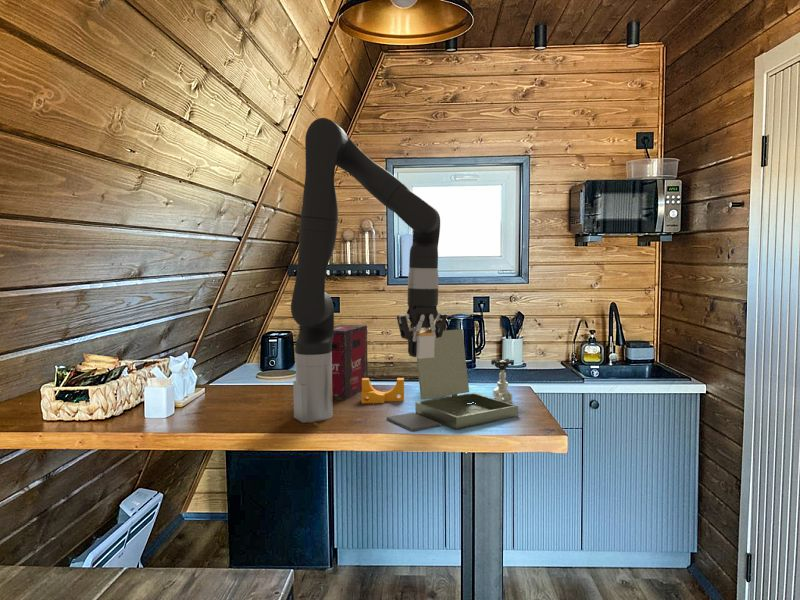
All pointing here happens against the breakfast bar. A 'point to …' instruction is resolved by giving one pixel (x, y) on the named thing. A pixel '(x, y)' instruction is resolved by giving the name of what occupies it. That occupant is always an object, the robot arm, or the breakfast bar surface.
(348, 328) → the box
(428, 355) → the block
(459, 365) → the lid
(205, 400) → the breakfast bar surface
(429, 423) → the mat
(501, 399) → the valve
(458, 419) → the case
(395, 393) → the pipe clamp
